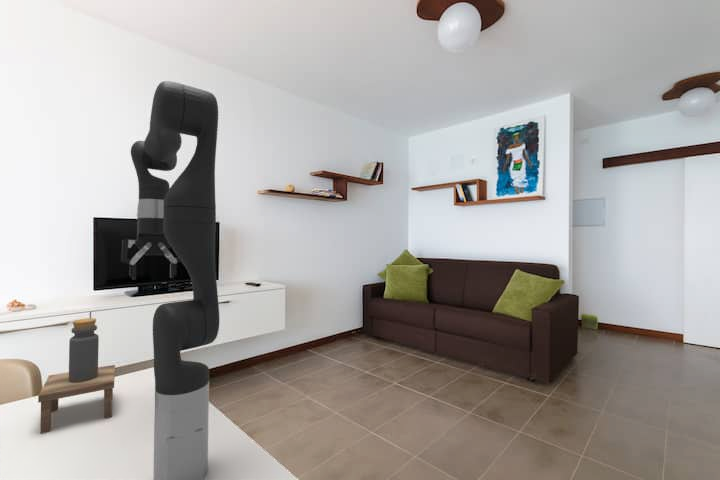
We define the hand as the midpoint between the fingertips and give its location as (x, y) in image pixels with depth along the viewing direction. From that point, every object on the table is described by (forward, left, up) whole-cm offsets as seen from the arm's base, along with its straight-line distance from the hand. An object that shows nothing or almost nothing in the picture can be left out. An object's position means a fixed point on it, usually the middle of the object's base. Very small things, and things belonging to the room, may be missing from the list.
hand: (153, 278), depth 89 cm
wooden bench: (+8, +15, -35) cm, 39 cm away
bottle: (+8, +15, -26) cm, 31 cm away
